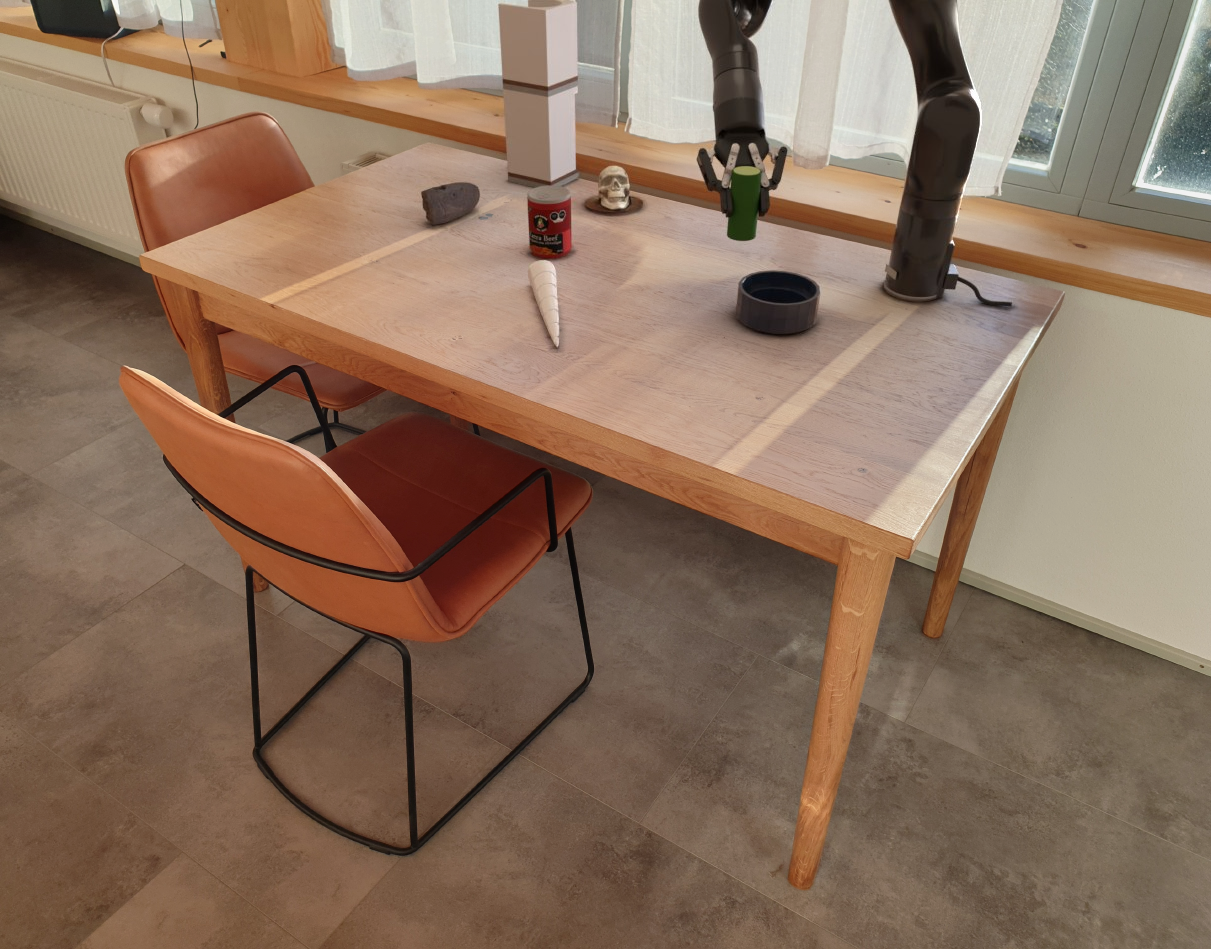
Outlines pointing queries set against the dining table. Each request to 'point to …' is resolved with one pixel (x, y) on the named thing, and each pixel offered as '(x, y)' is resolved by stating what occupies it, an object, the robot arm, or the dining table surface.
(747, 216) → the cucumber
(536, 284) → the unicorn horn
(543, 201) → the canned food
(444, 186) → the perforated stone tool
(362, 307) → the dining table surface
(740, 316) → the bowl
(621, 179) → the skull
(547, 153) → the striped white pillar
